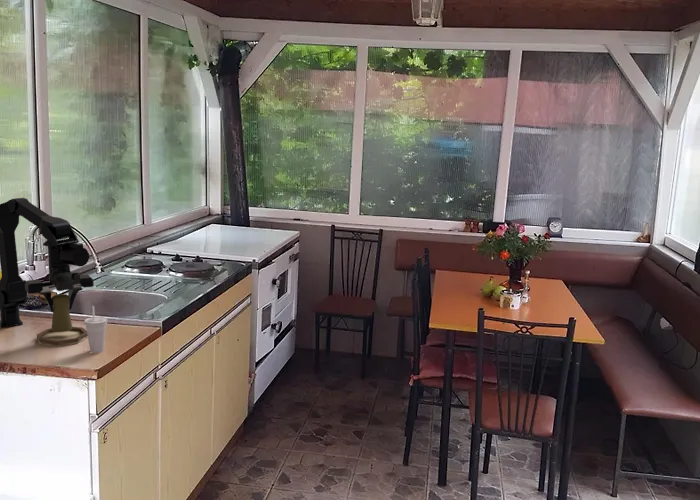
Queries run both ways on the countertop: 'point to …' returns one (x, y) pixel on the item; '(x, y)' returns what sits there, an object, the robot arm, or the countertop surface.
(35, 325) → the countertop surface
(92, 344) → the smoothie
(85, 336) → the tray
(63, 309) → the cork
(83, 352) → the countertop surface
